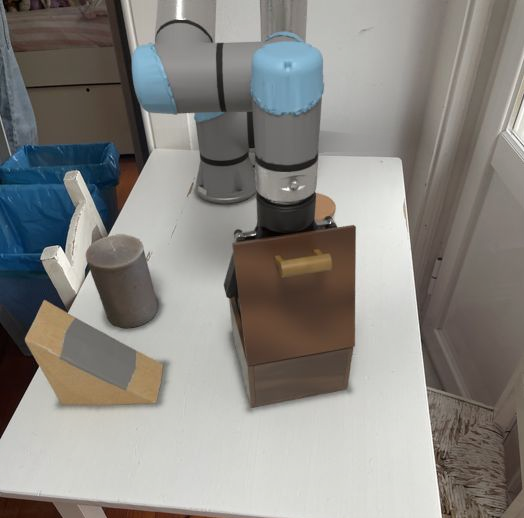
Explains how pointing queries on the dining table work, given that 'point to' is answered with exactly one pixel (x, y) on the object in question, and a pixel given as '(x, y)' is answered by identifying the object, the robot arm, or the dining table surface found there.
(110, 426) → the dining table surface
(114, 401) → the sandwich container
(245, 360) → the bread box
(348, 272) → the lid
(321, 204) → the trinket box
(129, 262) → the pillar candle
